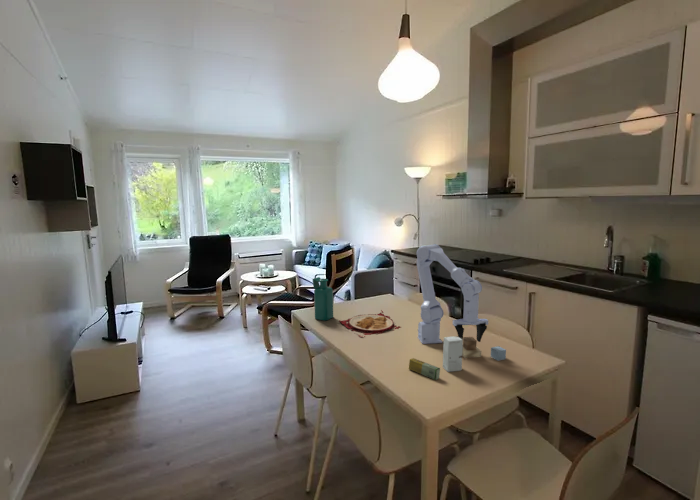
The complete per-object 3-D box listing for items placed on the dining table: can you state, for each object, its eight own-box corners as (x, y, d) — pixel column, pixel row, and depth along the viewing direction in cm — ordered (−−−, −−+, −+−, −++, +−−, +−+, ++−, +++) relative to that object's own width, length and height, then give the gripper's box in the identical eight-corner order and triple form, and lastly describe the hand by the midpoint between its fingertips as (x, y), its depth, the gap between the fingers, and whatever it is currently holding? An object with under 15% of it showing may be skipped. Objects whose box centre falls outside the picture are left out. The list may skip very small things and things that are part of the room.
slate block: (497, 360, 143) (498, 351, 143) (490, 356, 147) (491, 347, 147) (505, 359, 145) (506, 349, 144) (498, 355, 149) (498, 346, 148)
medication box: (439, 378, 130) (440, 368, 130) (435, 380, 128) (437, 369, 128) (412, 367, 138) (413, 357, 138) (408, 369, 136) (409, 359, 136)
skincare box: (447, 372, 134) (448, 341, 133) (442, 367, 139) (442, 337, 137) (462, 370, 136) (463, 339, 134) (456, 365, 140) (457, 335, 138)
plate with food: (338, 323, 190) (338, 317, 190) (381, 315, 202) (381, 308, 201) (360, 340, 169) (360, 333, 168) (407, 329, 180) (407, 322, 180)
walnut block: (466, 350, 147) (467, 341, 147) (462, 346, 151) (463, 337, 151) (476, 349, 148) (476, 340, 147) (472, 345, 152) (472, 336, 151)
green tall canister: (334, 317, 199) (334, 278, 196) (325, 321, 192) (324, 281, 189) (320, 314, 204) (319, 276, 201) (311, 318, 197) (310, 279, 194)
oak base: (464, 359, 146) (465, 352, 146) (457, 351, 153) (457, 345, 153) (481, 357, 147) (481, 350, 147) (473, 350, 154) (473, 344, 154)
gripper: (457, 313, 143) (456, 346, 145) (492, 312, 144) (491, 344, 146) (451, 308, 150) (450, 339, 152) (484, 307, 151) (483, 337, 153)
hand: (469, 341), depth 149 cm, fingers open, 7 cm apart
